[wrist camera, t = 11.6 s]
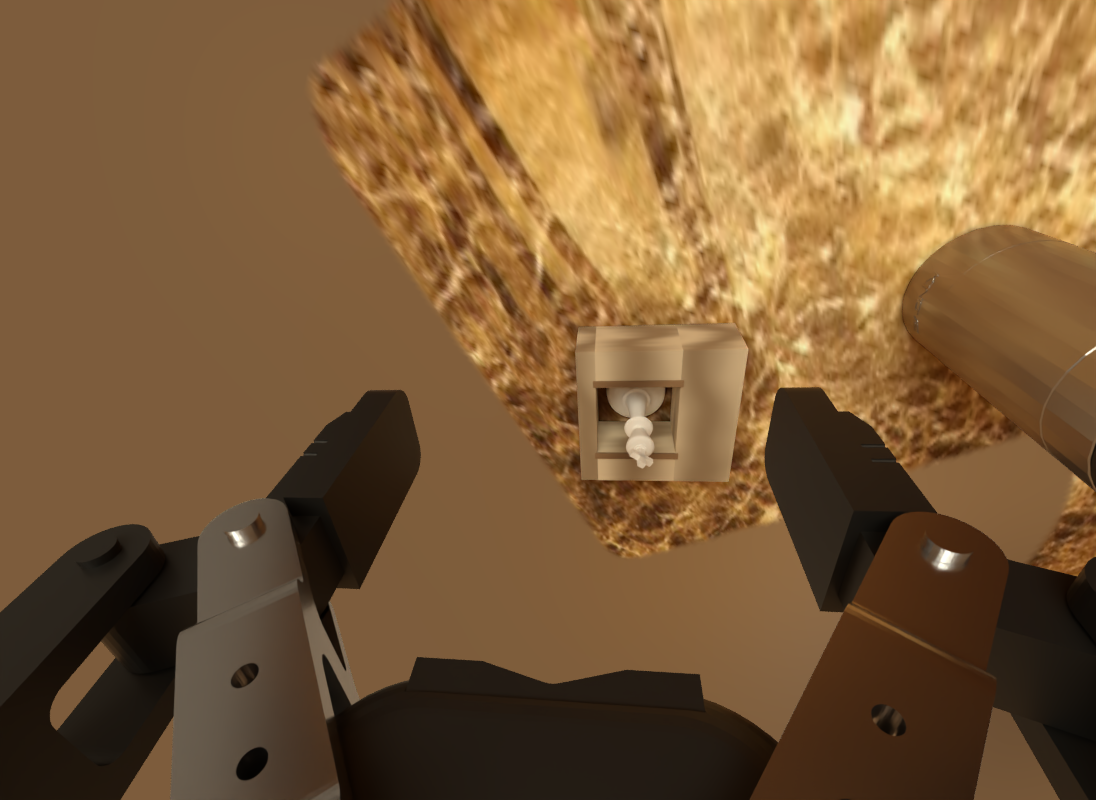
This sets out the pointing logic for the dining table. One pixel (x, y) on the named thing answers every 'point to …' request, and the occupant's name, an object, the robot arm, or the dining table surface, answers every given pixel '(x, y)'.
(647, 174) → the dining table surface
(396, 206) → the dining table surface
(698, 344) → the socket block
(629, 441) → the chess piece
